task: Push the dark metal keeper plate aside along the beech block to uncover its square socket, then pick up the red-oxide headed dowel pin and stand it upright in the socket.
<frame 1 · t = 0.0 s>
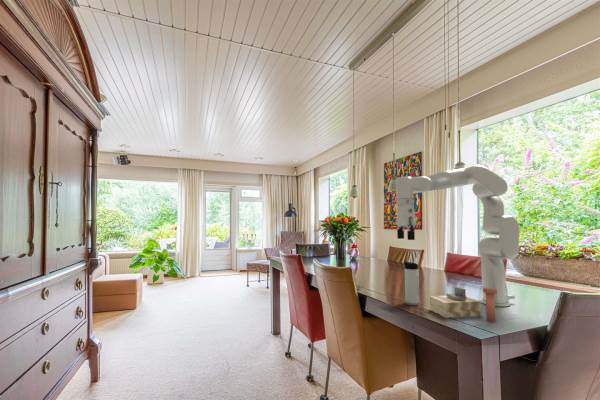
hand: (405, 239, 139), 31 cm above the table, fingers open, 9 cm apart
pin: (491, 320, 118), on the table
keeper: (456, 293, 129), point 8 cm above the table, slide at 0.0 cm
travel mug: (411, 304, 142), on the table
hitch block: (454, 312, 128), on the table
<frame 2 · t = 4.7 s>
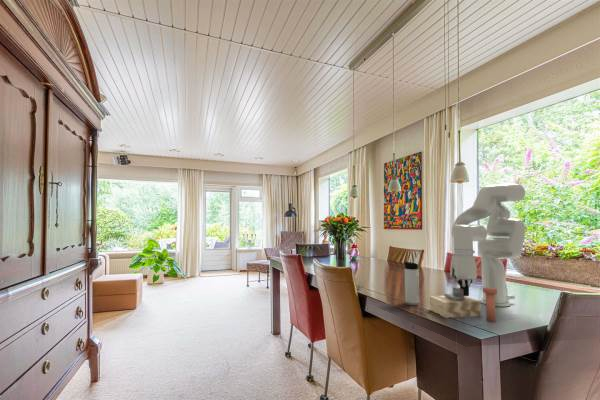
hand: (464, 295, 129), 7 cm above the table, fingers closed
keeper: (454, 293, 129), point 8 cm above the table, slide at 0.9 cm, touching gripper
everything else where it was.
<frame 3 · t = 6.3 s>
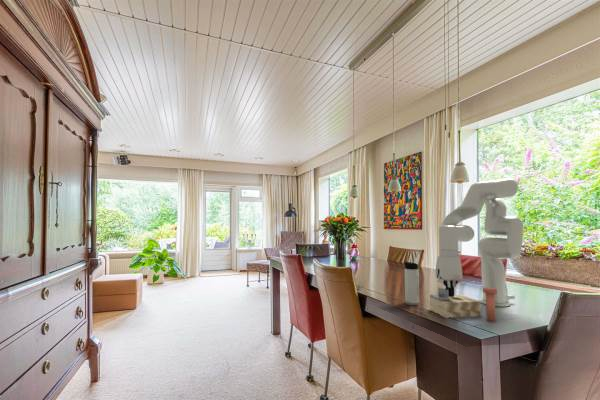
hand: (450, 296, 128), 7 cm above the table, fingers closed
keeper: (439, 293, 128), point 8 cm above the table, slide at 7.9 cm
everything else where it was.
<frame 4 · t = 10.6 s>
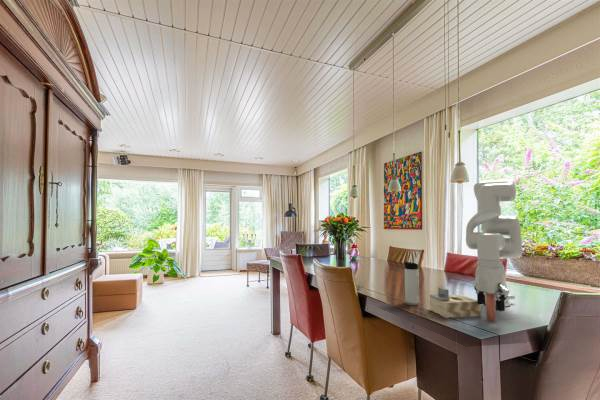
hand: (490, 307, 118), 5 cm above the table, fingers open, 9 cm apart
nothing on the table moved.
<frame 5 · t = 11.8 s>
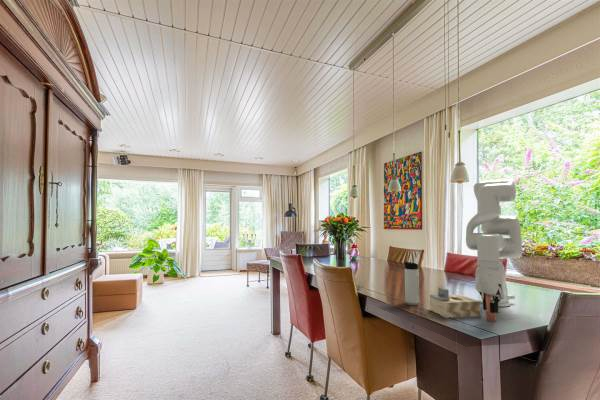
hand: (490, 310, 118), 4 cm above the table, fingers closed on pin, 3 cm apart
pin: (491, 320, 118), on the table, touching gripper
everything else where it was.
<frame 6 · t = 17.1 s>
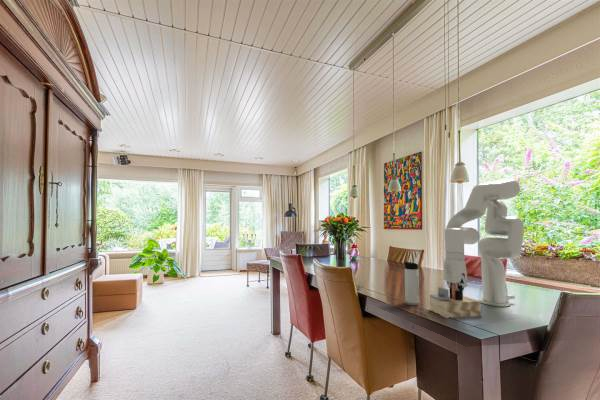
hand: (456, 298, 128), 6 cm above the table, fingers closed on pin, 3 cm apart
pin: (456, 307, 128), point 2 cm above the table, touching gripper
everything else where it was.
when the fingers open (6 cm above the table, at t = 18.7 s): pin drops 2 cm, resting in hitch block.
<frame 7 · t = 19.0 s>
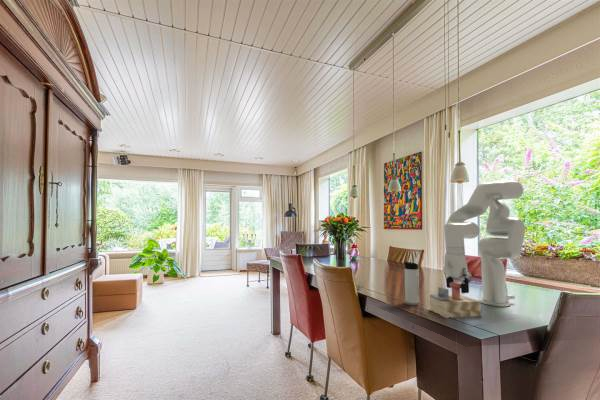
hand: (457, 290, 130), 9 cm above the table, fingers open, 9 cm apart
pin: (456, 312, 128), resting in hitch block
everything else where it was.
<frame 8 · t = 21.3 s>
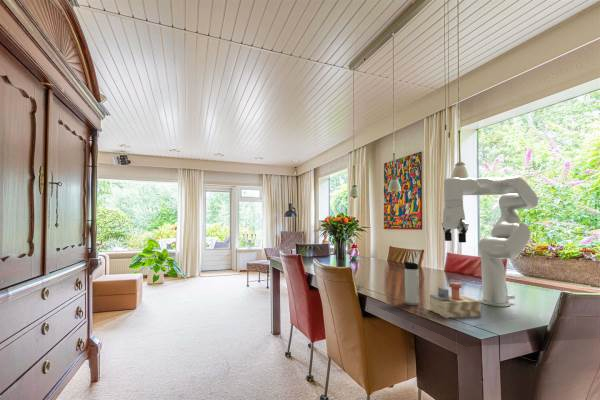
hand: (455, 241, 136), 30 cm above the table, fingers open, 9 cm apart
nothing on the table moved.
at the end: pin 0.3 cm from the target spot on the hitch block, point 0.0 cm above the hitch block's base; pin tilted 0°; keeper slide at 7.9 cm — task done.
